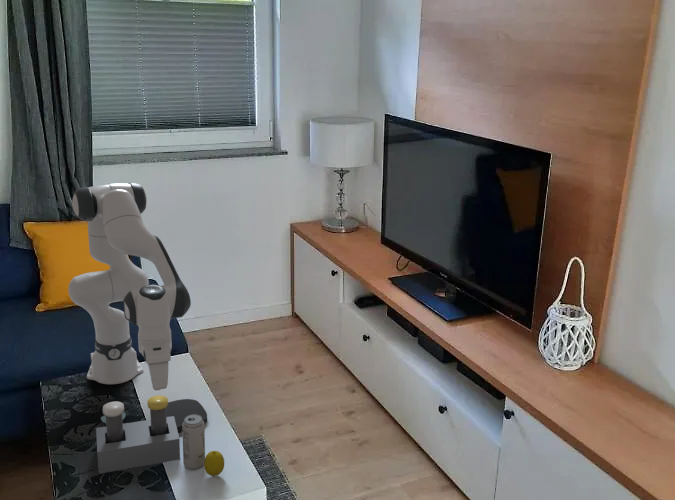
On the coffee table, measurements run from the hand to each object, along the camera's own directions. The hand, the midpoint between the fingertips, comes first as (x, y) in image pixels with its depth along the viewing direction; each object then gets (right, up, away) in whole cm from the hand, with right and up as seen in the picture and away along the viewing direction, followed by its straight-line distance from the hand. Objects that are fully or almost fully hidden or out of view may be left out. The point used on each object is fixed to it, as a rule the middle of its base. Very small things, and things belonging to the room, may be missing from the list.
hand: (157, 387), depth 187 cm
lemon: (+17, -24, -3) cm, 29 cm away
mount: (-7, -20, +5) cm, 22 cm away
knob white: (-12, -16, +1) cm, 20 cm away
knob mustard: (-1, -15, +5) cm, 16 cm away
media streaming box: (+1, -15, +23) cm, 27 cm away
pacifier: (-19, -15, +20) cm, 31 cm away
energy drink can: (+10, -22, +1) cm, 25 cm away
